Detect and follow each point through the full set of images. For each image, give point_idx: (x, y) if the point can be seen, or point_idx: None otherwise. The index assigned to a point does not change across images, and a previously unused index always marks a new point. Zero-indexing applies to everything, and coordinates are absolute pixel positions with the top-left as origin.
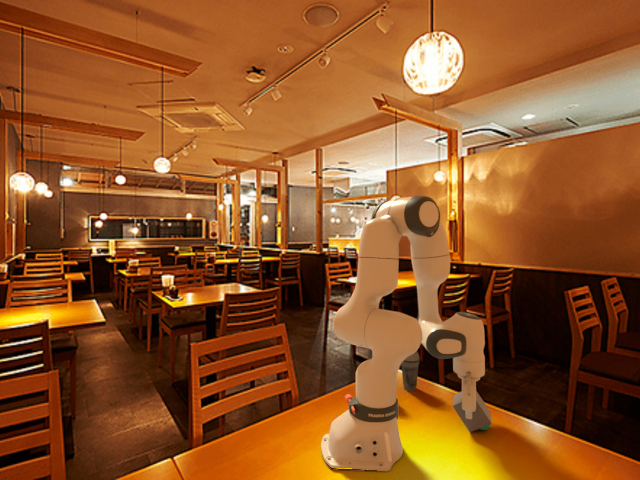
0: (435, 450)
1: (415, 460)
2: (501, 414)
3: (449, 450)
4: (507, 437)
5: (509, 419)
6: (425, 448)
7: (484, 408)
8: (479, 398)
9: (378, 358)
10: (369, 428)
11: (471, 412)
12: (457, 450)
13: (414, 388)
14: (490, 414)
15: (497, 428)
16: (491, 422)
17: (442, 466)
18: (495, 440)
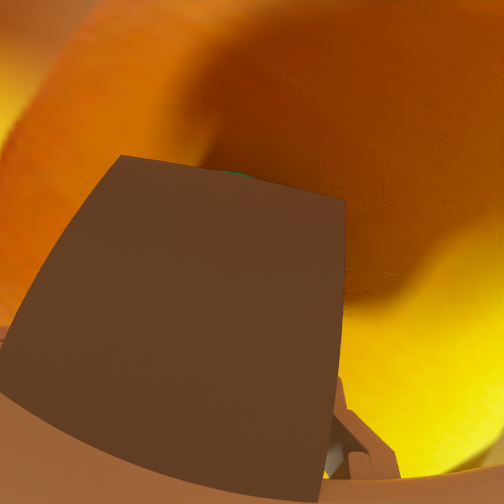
0: (419, 441)
1: (445, 469)
2: (61, 73)
3: (429, 408)
4: (316, 83)
5: (103, 34)
6: (403, 461)
7: (209, 263)
8: (92, 334)
9: None
10: None
11: (360, 427)
12: (436, 384)
13: None
14: (175, 164)
15: (213, 116)
16: (324, 196)
17: (488, 419)
18: (364, 175)
